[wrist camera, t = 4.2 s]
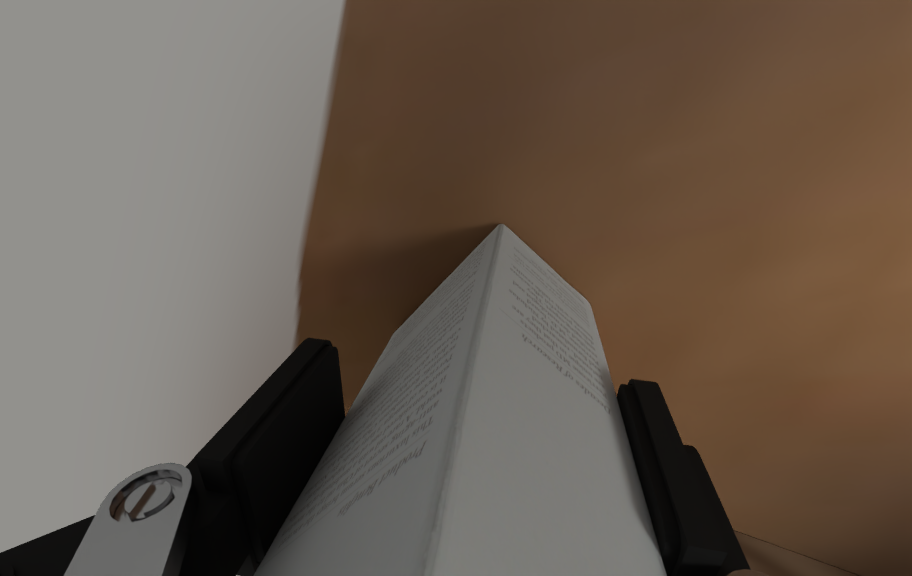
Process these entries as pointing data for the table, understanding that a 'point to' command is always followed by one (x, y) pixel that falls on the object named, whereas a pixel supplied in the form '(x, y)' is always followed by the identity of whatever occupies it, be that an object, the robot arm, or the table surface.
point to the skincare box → (479, 443)
